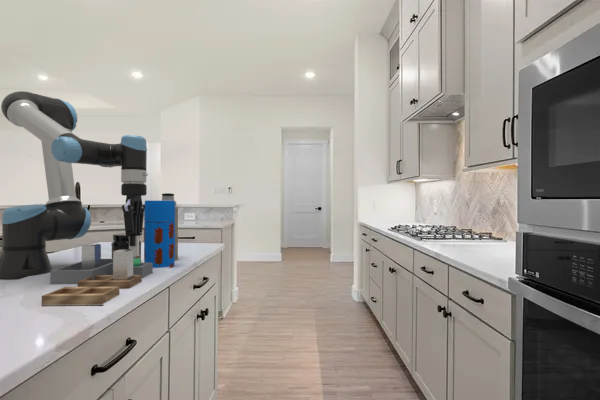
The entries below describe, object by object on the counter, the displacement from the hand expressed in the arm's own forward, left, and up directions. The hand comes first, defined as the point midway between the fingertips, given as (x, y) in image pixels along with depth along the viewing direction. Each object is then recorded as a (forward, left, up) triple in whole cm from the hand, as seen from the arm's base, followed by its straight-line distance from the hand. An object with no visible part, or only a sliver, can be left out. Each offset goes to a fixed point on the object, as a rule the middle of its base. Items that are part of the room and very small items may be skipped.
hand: (134, 255), depth 120 cm
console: (0, 0, -7) cm, 7 cm away
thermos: (+2, +19, -7) cm, 20 cm away
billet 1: (-13, -1, -6) cm, 15 cm away
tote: (-13, -1, -7) cm, 15 cm away
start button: (0, 0, -4) cm, 4 cm away
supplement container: (-12, +23, -7) cm, 27 cm away
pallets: (-1, -21, -7) cm, 22 cm away
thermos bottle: (0, +35, -7) cm, 36 cm away
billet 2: (+2, -13, -7) cm, 15 cm away
